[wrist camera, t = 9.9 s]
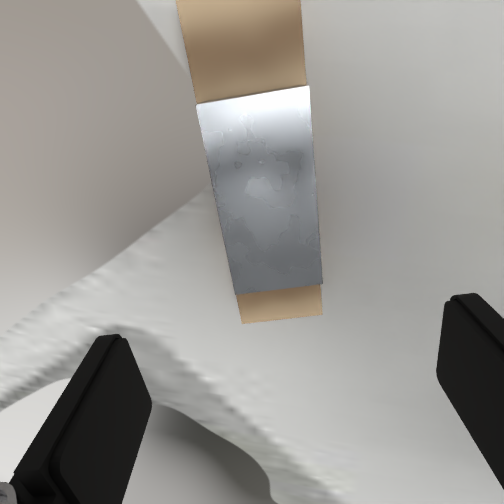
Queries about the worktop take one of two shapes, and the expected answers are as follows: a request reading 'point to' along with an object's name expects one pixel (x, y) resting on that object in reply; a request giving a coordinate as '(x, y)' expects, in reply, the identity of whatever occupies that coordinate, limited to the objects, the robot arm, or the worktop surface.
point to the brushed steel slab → (265, 186)
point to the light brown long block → (249, 81)
